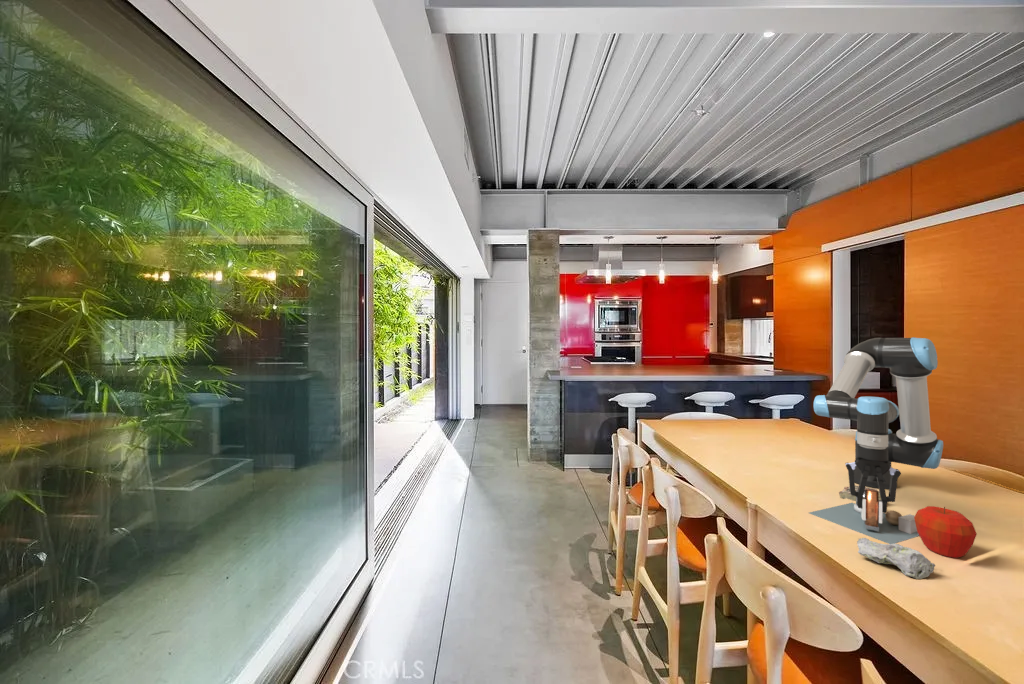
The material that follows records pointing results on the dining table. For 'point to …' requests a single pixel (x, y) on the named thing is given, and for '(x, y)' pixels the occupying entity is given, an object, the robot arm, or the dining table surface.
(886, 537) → the board
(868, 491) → the lever
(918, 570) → the mineral specimen
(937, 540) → the apple
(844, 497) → the rock
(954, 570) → the dining table surface
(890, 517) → the light brown ball
